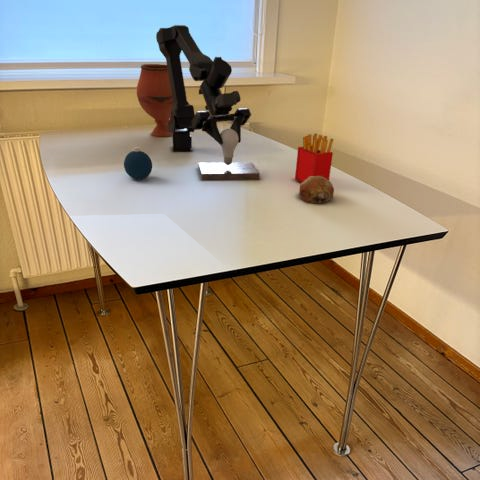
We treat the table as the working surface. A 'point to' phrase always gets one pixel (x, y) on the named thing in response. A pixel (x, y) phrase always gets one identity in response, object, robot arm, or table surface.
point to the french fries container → (313, 158)
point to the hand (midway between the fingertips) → (230, 143)
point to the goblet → (156, 96)
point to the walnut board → (228, 171)
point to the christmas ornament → (138, 164)
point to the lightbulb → (229, 144)
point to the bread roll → (316, 190)
